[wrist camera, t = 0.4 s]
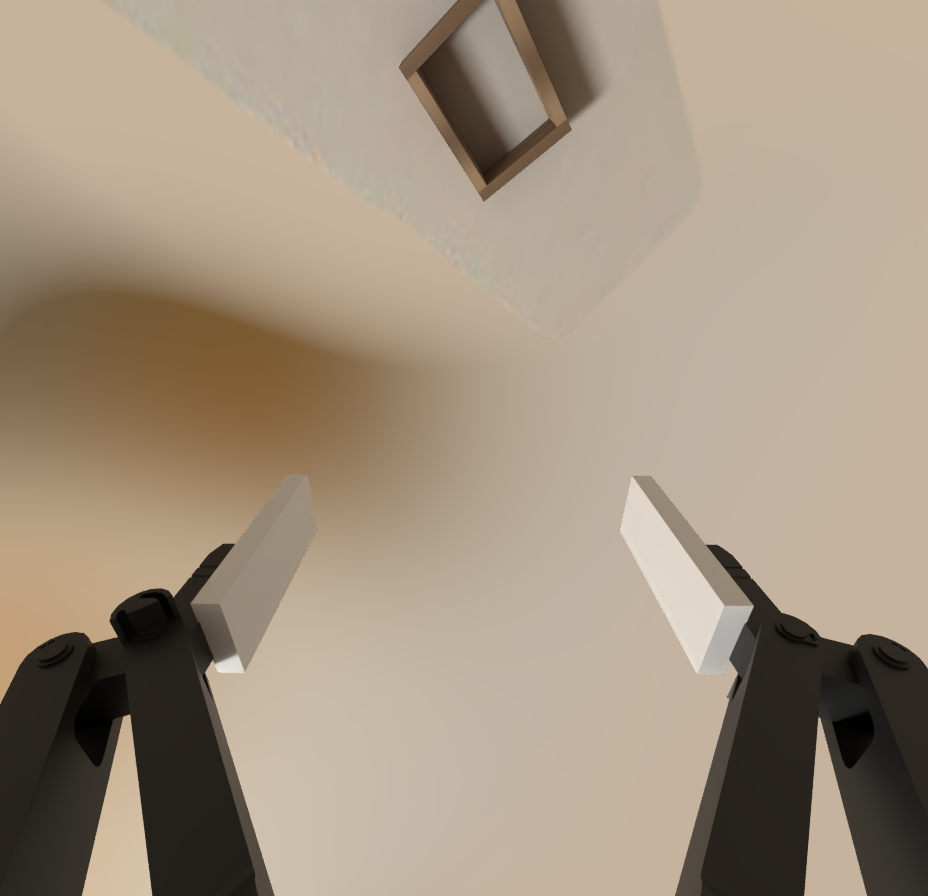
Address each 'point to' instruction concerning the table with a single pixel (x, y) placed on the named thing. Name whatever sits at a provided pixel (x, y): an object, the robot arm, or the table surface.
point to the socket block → (409, 67)
